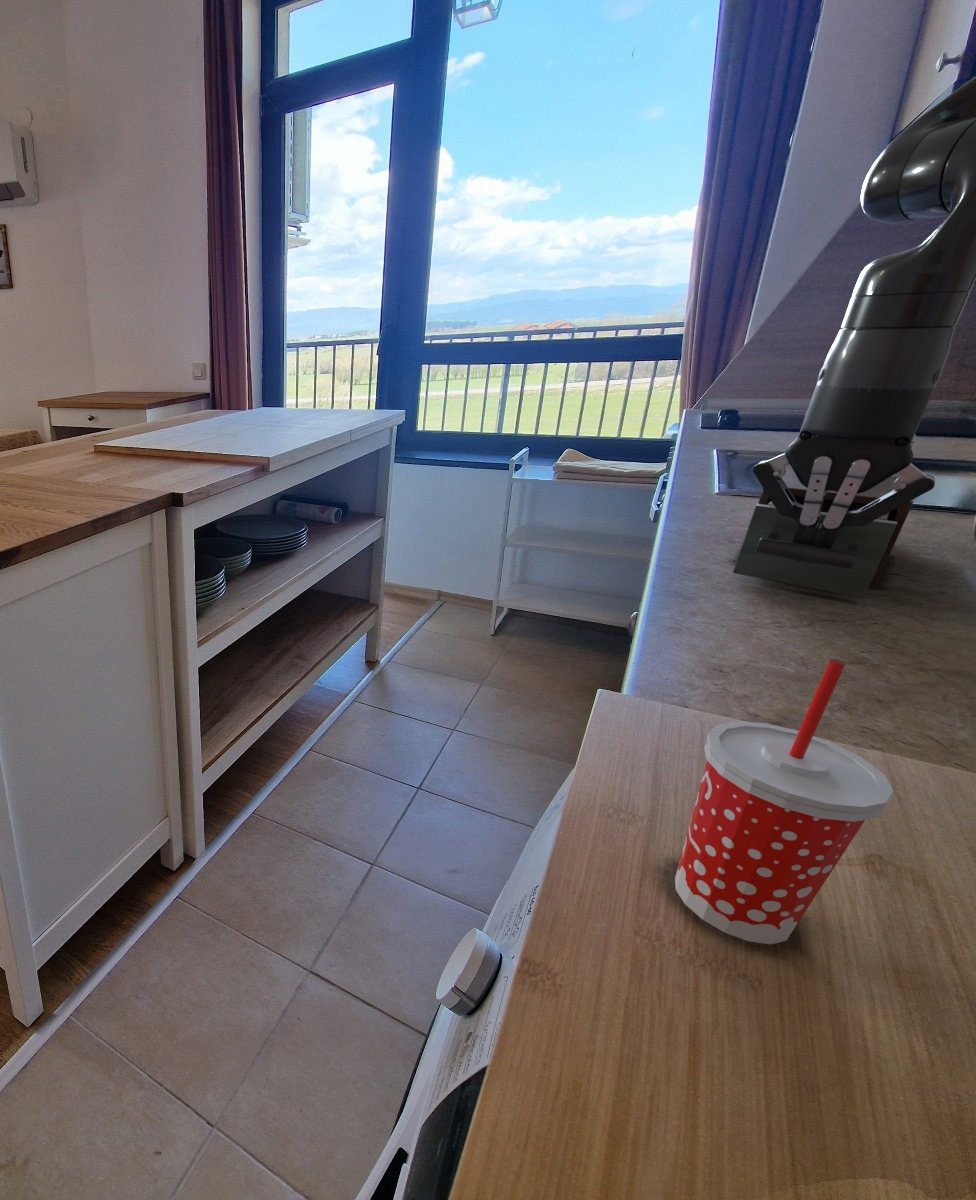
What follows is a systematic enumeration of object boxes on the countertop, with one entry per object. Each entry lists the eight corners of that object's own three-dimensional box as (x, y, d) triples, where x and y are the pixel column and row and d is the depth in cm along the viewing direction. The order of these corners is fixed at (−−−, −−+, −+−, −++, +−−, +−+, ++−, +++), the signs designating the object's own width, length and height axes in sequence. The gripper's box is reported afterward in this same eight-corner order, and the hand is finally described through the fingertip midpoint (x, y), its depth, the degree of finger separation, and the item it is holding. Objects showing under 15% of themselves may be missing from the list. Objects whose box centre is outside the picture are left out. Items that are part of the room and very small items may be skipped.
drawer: (858, 615, 60) (893, 537, 57) (720, 586, 67) (744, 516, 64) (874, 565, 71) (904, 499, 68) (755, 546, 79) (777, 484, 75)
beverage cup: (702, 844, 35) (790, 620, 30) (842, 931, 30) (980, 679, 25) (629, 879, 33) (710, 646, 28) (766, 979, 28) (899, 716, 23)
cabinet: (874, 588, 68) (913, 501, 64) (737, 563, 76) (764, 484, 72) (884, 556, 76) (918, 478, 73) (760, 537, 84) (785, 466, 81)
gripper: (986, 381, 55) (902, 566, 61) (784, 377, 64) (730, 539, 71) (989, 387, 50) (898, 587, 57) (771, 382, 59) (715, 554, 66)
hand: (805, 560), depth 64 cm, fingers closed
